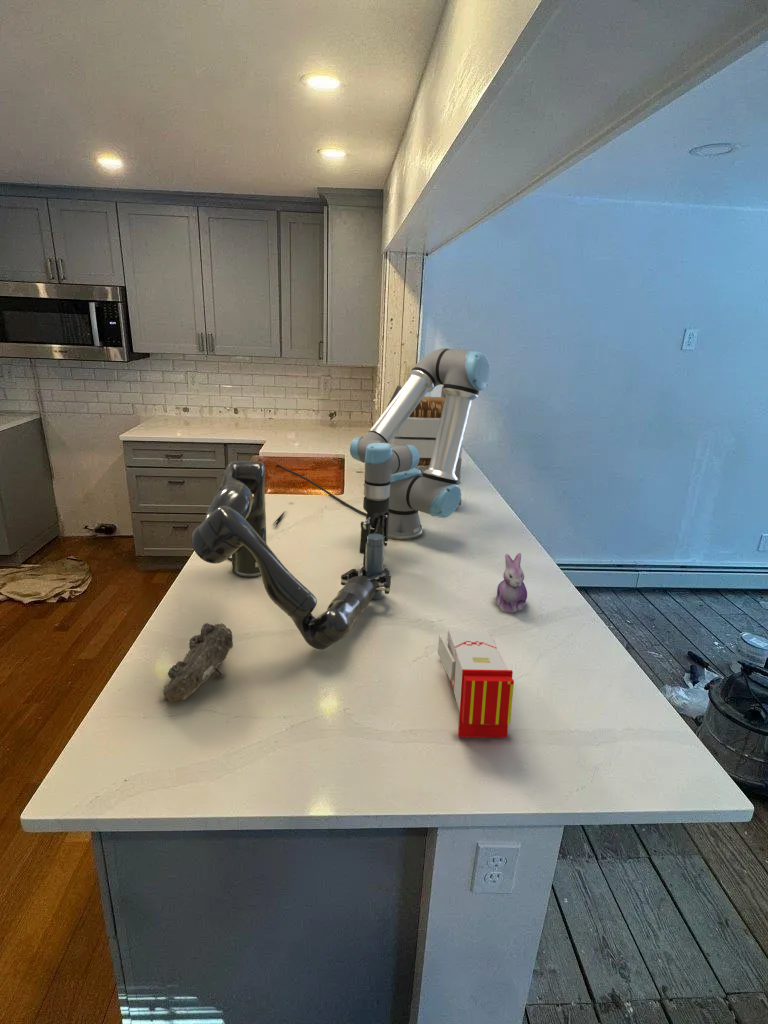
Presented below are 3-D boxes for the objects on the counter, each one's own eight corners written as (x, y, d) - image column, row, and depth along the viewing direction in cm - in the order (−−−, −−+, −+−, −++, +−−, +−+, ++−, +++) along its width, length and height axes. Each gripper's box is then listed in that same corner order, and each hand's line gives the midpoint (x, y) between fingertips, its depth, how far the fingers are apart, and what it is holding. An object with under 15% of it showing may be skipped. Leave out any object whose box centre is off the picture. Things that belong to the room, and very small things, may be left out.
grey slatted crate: (382, 463, 289) (386, 382, 275) (445, 464, 293) (451, 384, 279) (390, 482, 257) (394, 392, 243) (460, 483, 261) (468, 394, 247)
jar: (372, 589, 160) (374, 531, 154) (385, 595, 157) (388, 536, 151) (360, 595, 156) (362, 536, 150) (374, 601, 153) (376, 541, 147)
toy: (488, 613, 130) (523, 677, 101) (484, 667, 133) (517, 744, 104) (435, 612, 130) (455, 676, 101) (432, 666, 133) (451, 743, 103)
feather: (291, 505, 226) (294, 501, 225) (275, 529, 199) (277, 524, 199) (288, 503, 226) (290, 499, 225) (270, 526, 199) (273, 522, 199)
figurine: (509, 617, 148) (516, 565, 143) (485, 599, 156) (491, 550, 151) (537, 610, 152) (544, 559, 147) (512, 593, 161) (519, 544, 156)
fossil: (187, 626, 130) (233, 595, 125) (216, 654, 133) (262, 625, 128) (141, 695, 110) (194, 662, 105) (176, 726, 113) (229, 696, 108)
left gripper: (382, 588, 138) (402, 561, 153) (328, 578, 142) (353, 552, 158) (381, 615, 141) (401, 586, 156) (328, 604, 145) (352, 577, 160)
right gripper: (380, 486, 174) (377, 555, 182) (348, 502, 158) (346, 577, 166) (402, 491, 171) (397, 561, 179) (372, 508, 155) (368, 584, 163)
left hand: (377, 569), depth 157 cm, fingers closed on jar, 5 cm apart
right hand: (372, 568), depth 172 cm, fingers closed on lid, 6 cm apart
